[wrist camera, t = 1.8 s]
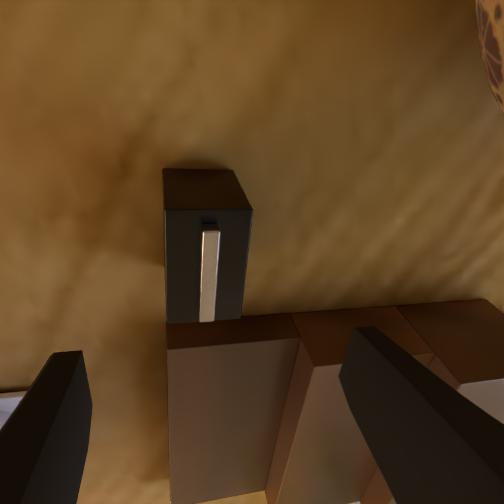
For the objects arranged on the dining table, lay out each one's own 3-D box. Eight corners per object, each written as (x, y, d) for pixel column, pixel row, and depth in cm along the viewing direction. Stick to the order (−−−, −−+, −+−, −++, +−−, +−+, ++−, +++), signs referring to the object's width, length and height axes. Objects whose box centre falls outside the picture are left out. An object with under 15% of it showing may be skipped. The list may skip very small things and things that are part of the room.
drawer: (164, 267, 18) (167, 335, 14) (161, 167, 15) (164, 217, 11) (225, 265, 18) (244, 329, 15) (233, 169, 16) (257, 217, 12)
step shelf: (169, 479, 28) (172, 579, 23) (165, 321, 20) (169, 424, 15) (408, 438, 33) (453, 512, 28) (486, 298, 25) (569, 369, 20)
